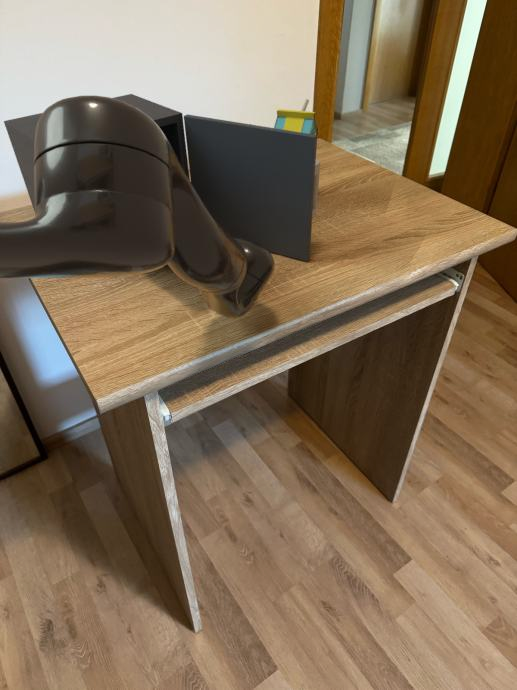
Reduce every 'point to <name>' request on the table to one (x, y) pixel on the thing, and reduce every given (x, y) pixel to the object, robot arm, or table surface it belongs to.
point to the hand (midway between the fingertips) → (117, 200)
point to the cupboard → (164, 117)
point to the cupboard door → (256, 181)
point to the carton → (297, 120)
